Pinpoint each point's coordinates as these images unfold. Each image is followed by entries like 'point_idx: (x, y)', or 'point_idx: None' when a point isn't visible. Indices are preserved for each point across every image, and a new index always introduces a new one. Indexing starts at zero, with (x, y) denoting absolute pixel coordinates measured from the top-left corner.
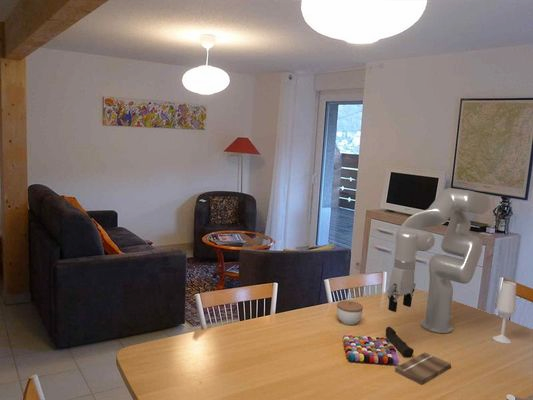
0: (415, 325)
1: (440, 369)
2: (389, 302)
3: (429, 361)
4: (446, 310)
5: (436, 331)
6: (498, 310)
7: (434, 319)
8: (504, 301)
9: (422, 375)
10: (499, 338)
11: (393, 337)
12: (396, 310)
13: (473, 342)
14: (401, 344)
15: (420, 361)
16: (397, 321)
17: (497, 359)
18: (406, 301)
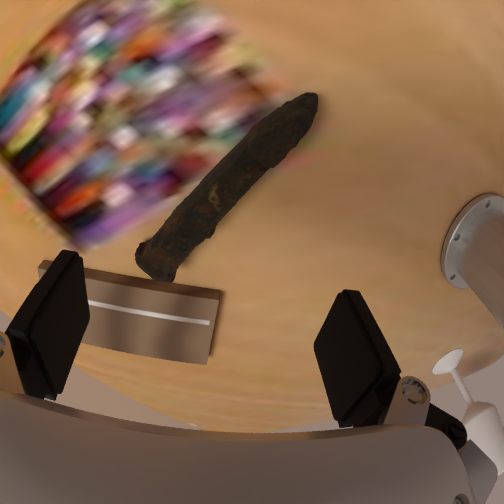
0: (470, 178)
1: (145, 355)
2: (28, 305)
3: (163, 327)
4: (497, 320)
5: (442, 258)
6: (476, 413)
7: (477, 266)
8: (477, 443)
9: None
10: (444, 366)
11: (220, 171)
12: (82, 329)
13: (414, 340)
14: (167, 235)
15: (135, 310)
16: (471, 107)
17: None
18: (338, 352)
